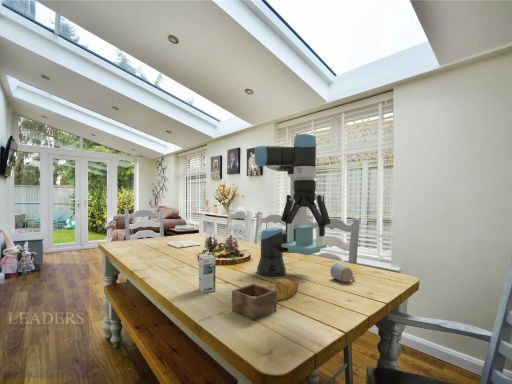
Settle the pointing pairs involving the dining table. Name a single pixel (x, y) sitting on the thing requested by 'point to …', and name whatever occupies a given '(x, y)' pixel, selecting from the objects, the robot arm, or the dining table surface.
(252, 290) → the box
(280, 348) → the dining table surface
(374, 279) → the dining table surface
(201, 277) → the syrup box
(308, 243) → the lid
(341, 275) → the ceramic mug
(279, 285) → the croissant
